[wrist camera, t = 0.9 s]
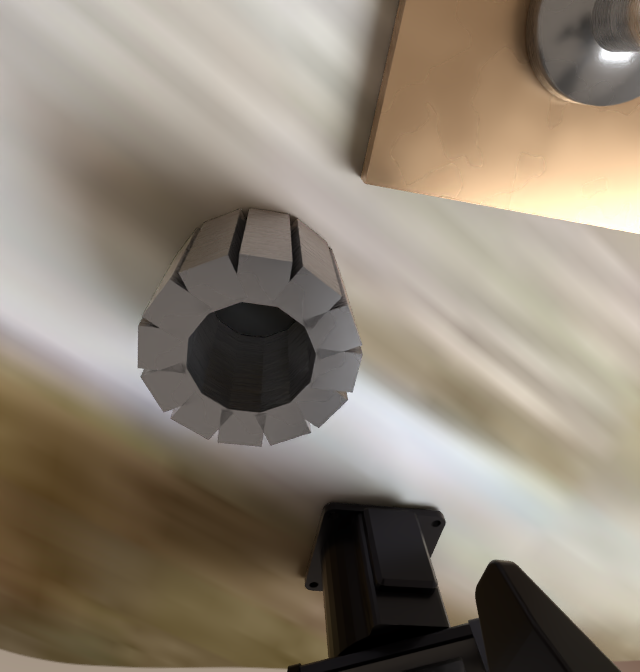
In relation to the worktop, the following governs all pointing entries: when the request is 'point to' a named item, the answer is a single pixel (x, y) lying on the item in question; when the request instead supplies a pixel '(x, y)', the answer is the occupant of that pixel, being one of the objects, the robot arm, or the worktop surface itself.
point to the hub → (249, 351)
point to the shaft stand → (514, 107)
